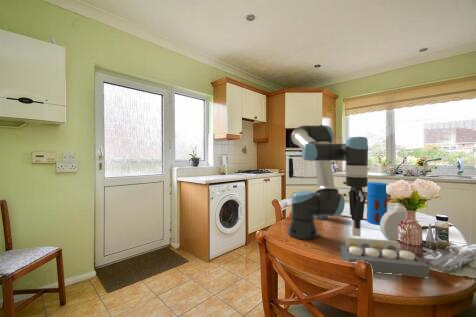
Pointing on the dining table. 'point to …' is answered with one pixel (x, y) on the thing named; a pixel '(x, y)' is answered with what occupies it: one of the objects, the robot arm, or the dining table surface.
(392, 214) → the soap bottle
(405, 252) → the button
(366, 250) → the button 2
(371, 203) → the thermos
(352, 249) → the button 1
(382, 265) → the board
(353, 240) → the card
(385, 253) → the button
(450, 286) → the dining table surface
